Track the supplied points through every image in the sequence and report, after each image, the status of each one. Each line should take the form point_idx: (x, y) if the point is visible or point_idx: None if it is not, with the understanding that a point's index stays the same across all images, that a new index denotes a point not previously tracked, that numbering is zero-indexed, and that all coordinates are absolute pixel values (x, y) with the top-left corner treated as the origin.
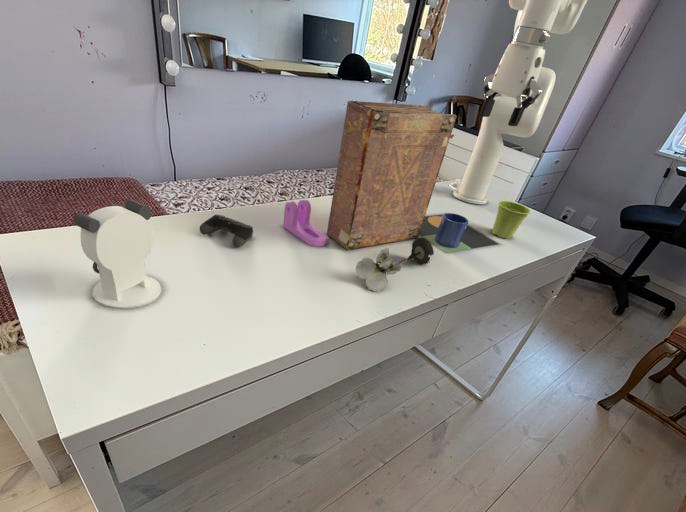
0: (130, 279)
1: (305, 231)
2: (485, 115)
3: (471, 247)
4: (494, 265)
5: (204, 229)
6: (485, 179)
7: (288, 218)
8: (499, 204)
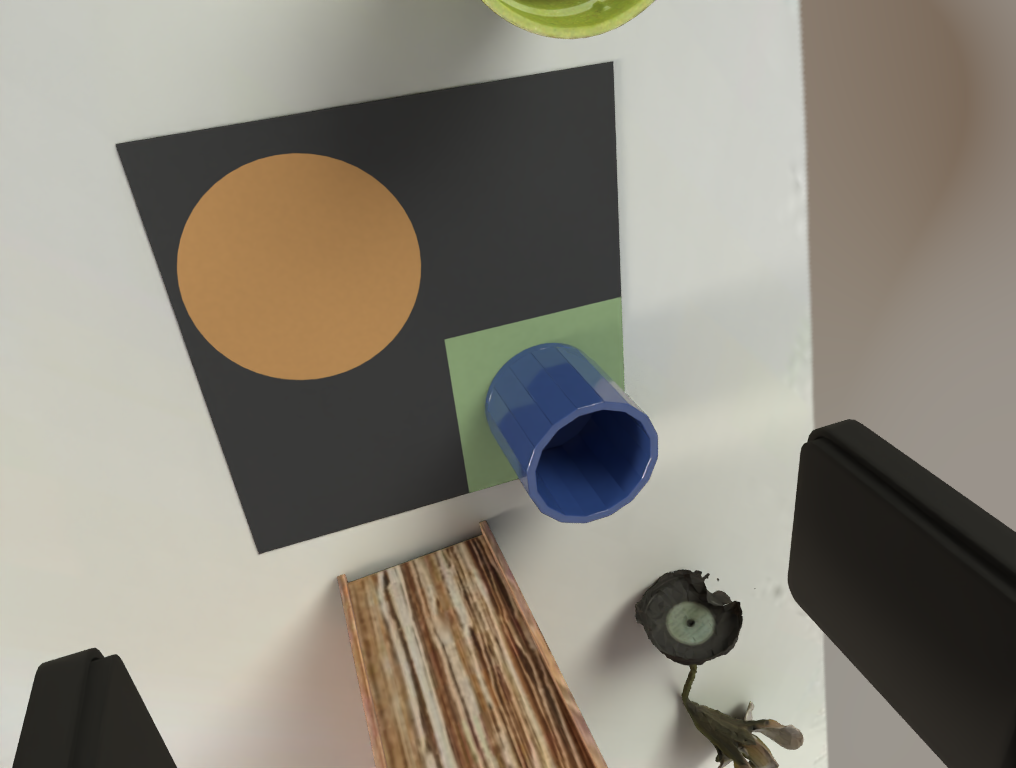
0: None
1: None
2: (163, 755)
3: (612, 290)
4: (768, 277)
5: None
6: None
7: None
8: (515, 23)
